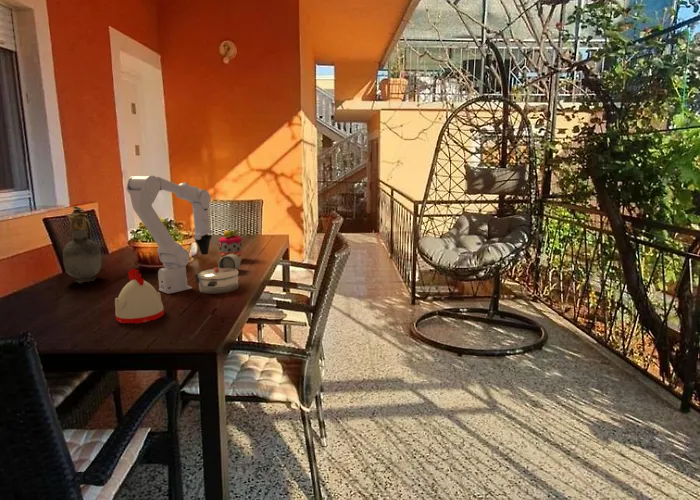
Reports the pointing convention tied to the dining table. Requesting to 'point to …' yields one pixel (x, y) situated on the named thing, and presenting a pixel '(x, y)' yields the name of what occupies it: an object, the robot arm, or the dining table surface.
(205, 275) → the cooker lid
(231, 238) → the cake
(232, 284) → the cooker pot
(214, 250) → the dining table surface
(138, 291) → the kitchen timer
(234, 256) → the ceramic mug
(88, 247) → the grey rounded bottle shape
